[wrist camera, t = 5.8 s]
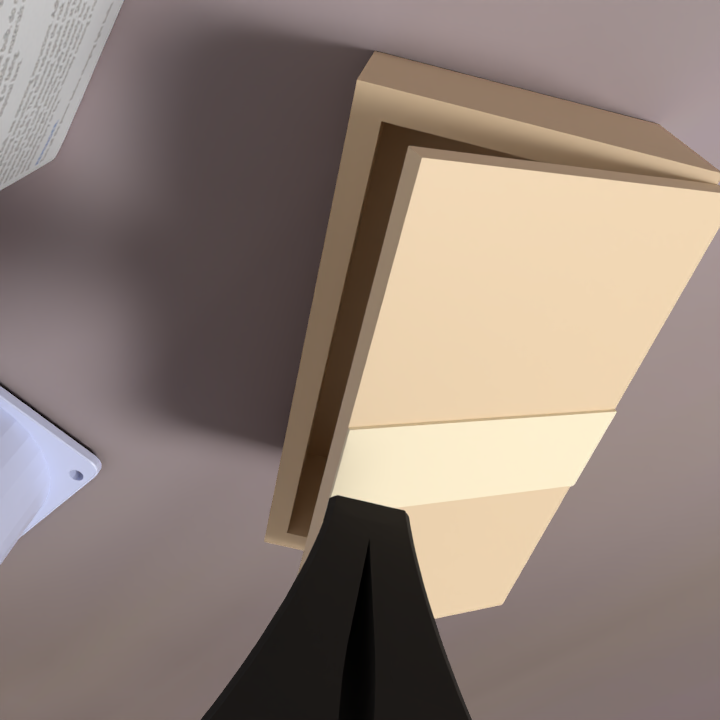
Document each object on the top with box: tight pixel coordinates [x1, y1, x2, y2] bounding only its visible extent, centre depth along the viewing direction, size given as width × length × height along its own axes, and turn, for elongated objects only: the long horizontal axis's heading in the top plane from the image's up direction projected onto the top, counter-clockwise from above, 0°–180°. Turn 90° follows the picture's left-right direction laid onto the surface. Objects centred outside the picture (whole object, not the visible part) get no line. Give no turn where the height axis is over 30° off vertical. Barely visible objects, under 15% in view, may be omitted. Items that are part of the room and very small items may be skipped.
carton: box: [264, 51, 720, 551], centre depth 17 cm, size 13×7×4 cm, turn 168°
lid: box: [297, 146, 720, 619], centre depth 14 cm, size 13×6×1 cm, turn 168°
